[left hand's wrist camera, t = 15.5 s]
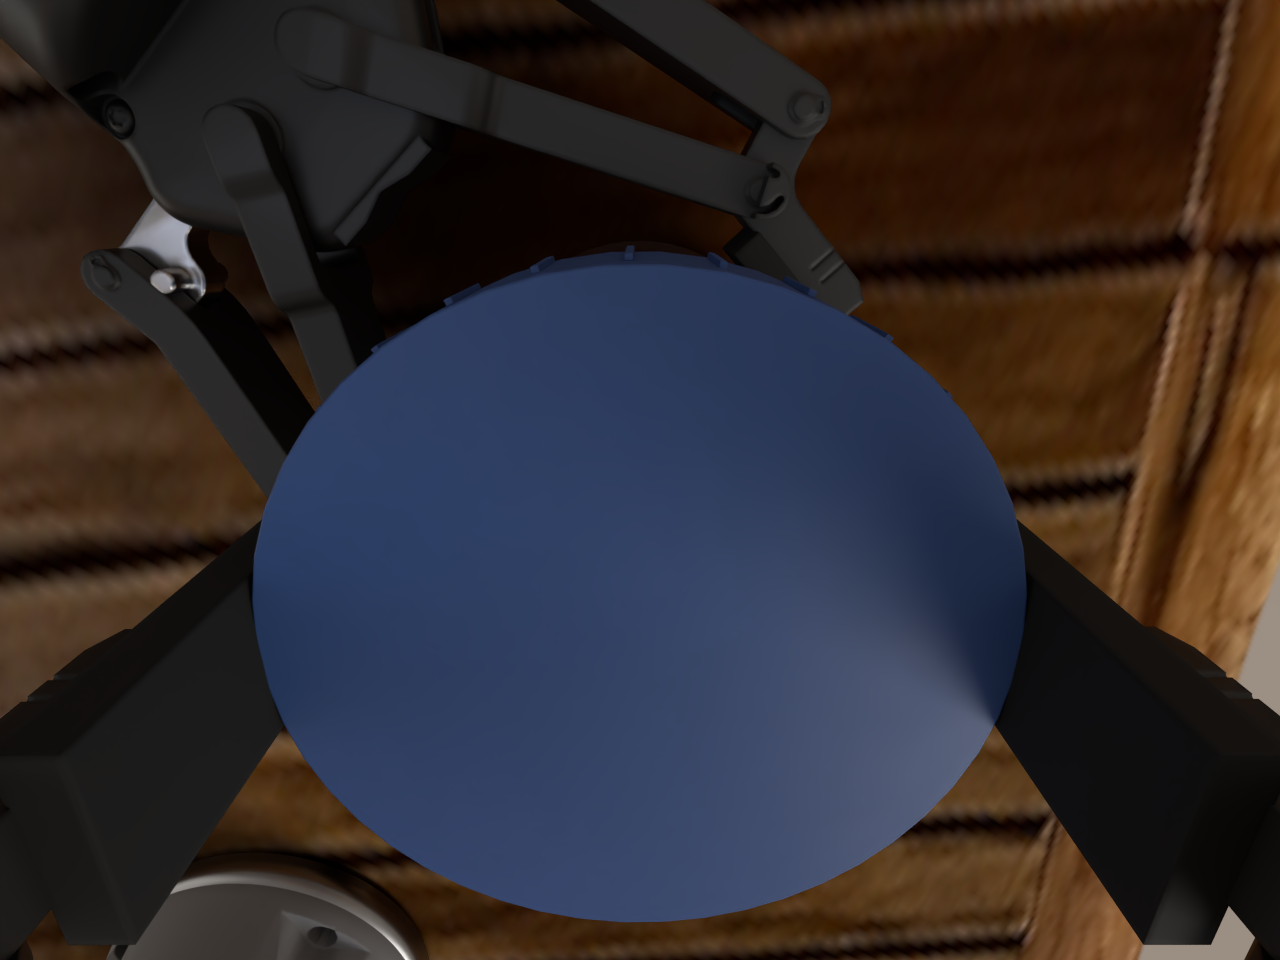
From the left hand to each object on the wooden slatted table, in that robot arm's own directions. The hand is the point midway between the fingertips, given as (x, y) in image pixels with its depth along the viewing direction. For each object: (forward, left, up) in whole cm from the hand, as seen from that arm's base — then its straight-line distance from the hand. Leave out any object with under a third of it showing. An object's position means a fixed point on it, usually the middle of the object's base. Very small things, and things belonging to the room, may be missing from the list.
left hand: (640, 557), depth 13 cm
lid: (0, 0, +3) cm, 3 cm away
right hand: (+2, -3, -7) cm, 8 cm away
